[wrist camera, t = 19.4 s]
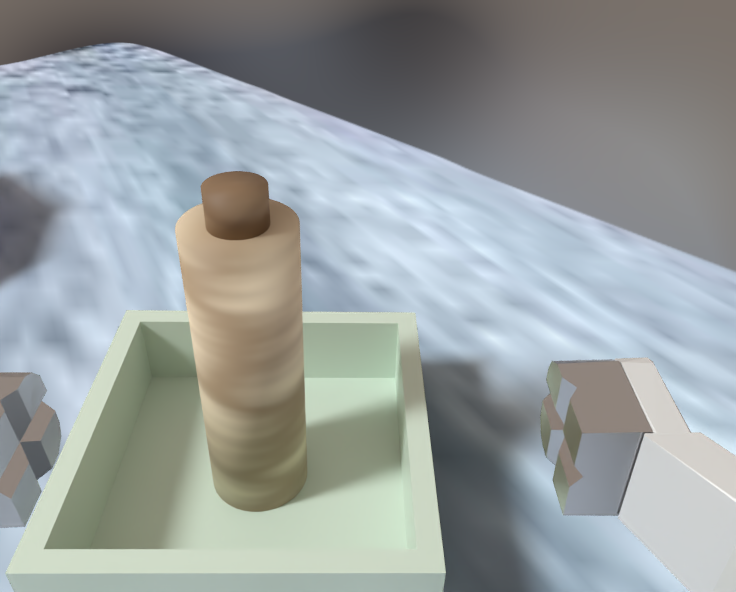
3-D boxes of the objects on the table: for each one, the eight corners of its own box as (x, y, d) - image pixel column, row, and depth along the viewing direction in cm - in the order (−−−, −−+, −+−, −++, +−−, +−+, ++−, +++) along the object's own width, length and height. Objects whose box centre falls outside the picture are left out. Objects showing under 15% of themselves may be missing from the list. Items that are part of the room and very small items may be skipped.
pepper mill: (309, 438, 36) (302, 160, 27) (304, 511, 32) (294, 217, 23) (221, 437, 36) (183, 158, 27) (205, 511, 32) (155, 214, 23)
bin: (410, 379, 41) (415, 312, 38) (435, 644, 28) (445, 573, 25) (142, 377, 41) (126, 310, 38) (40, 645, 28) (5, 573, 25)
